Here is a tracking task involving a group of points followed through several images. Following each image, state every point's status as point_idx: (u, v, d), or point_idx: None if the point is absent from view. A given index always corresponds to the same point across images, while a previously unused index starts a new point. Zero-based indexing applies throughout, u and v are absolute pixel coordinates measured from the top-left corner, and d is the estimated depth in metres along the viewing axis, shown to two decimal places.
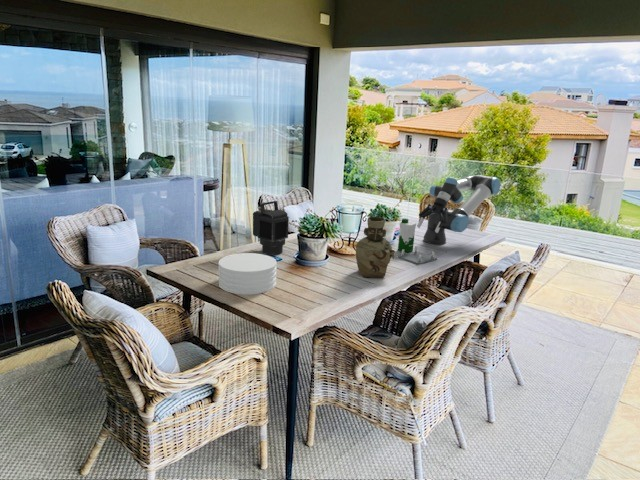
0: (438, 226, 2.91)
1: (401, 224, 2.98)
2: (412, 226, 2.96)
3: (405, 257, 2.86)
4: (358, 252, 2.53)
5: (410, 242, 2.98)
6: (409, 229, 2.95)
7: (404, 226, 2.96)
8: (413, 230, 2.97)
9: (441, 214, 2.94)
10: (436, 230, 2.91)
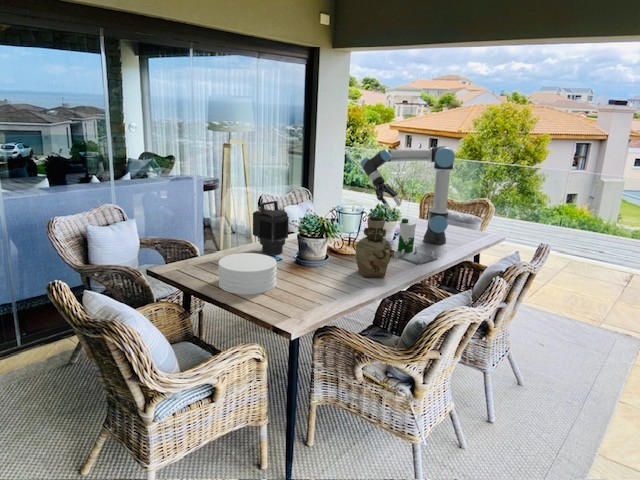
0: (384, 204, 2.99)
1: (401, 224, 2.98)
2: (412, 226, 2.96)
3: (405, 257, 2.86)
4: (358, 252, 2.53)
5: (410, 242, 2.98)
6: (409, 229, 2.95)
7: (404, 226, 2.96)
8: (413, 230, 2.97)
9: (380, 192, 3.03)
10: (386, 207, 2.99)
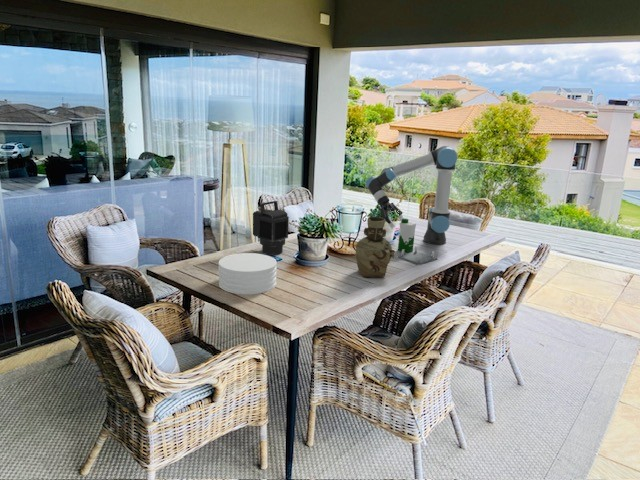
0: (389, 223, 2.99)
1: (401, 224, 2.98)
2: (412, 226, 2.96)
3: (405, 257, 2.86)
4: (358, 252, 2.53)
5: (410, 242, 2.98)
6: (409, 229, 2.95)
7: (404, 226, 2.96)
8: (413, 230, 2.97)
9: (385, 211, 3.02)
10: (391, 227, 2.98)
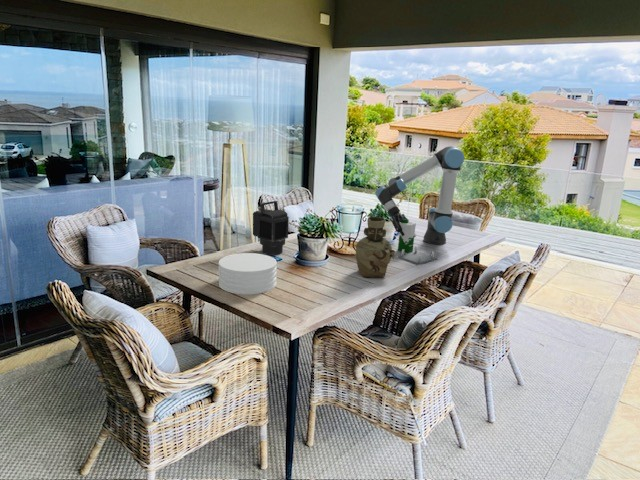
0: (402, 235, 2.97)
1: (401, 224, 2.98)
2: (412, 226, 2.96)
3: (405, 257, 2.86)
4: (358, 252, 2.53)
5: (410, 242, 2.98)
6: (409, 229, 2.95)
7: (404, 226, 2.96)
8: (413, 230, 2.97)
9: None
10: (405, 239, 2.97)
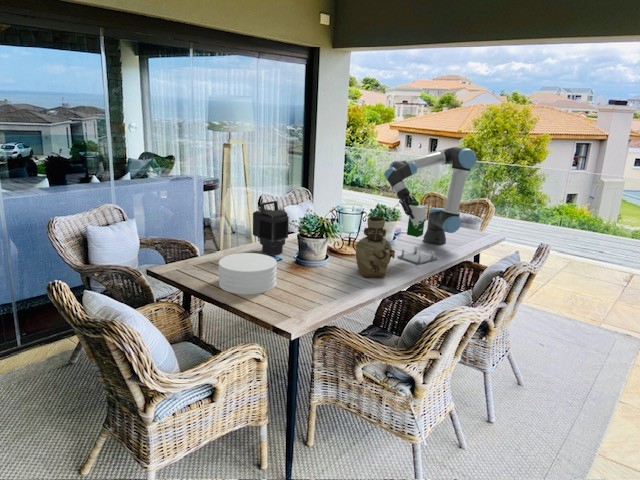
0: (412, 219, 2.81)
1: (411, 207, 2.81)
2: (422, 209, 2.79)
3: (405, 257, 2.86)
4: (358, 252, 2.53)
5: (420, 226, 2.82)
6: (419, 212, 2.79)
7: (414, 209, 2.80)
8: (423, 213, 2.81)
9: None
10: (415, 223, 2.80)
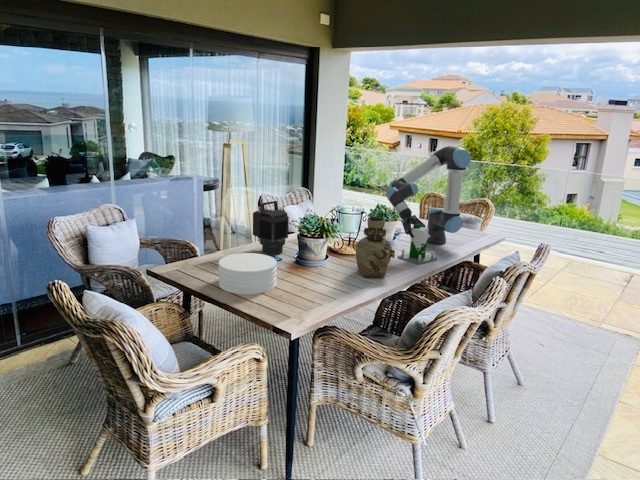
0: (412, 238, 2.80)
1: (413, 229, 2.82)
2: (425, 231, 2.80)
3: (405, 257, 2.86)
4: (358, 252, 2.53)
5: (422, 248, 2.82)
6: (421, 235, 2.80)
7: (416, 231, 2.81)
8: (426, 236, 2.82)
9: (407, 225, 2.84)
10: (415, 242, 2.79)
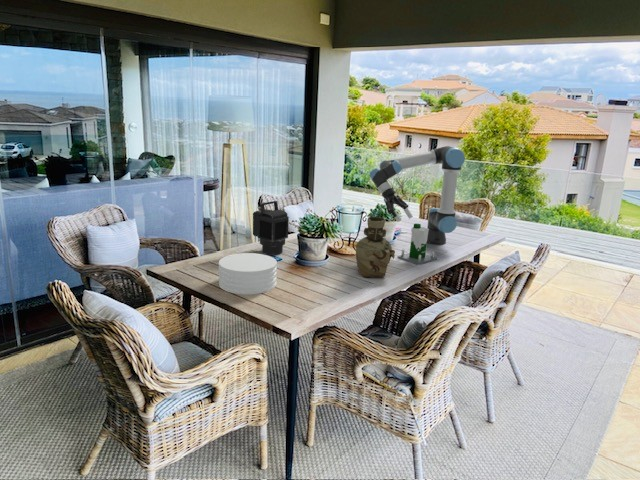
0: (394, 217, 2.86)
1: (413, 229, 2.82)
2: (425, 231, 2.80)
3: (405, 257, 2.86)
4: (358, 252, 2.53)
5: (422, 248, 2.82)
6: (422, 235, 2.80)
7: (416, 231, 2.81)
8: (426, 236, 2.82)
9: (390, 204, 2.89)
10: (397, 220, 2.85)
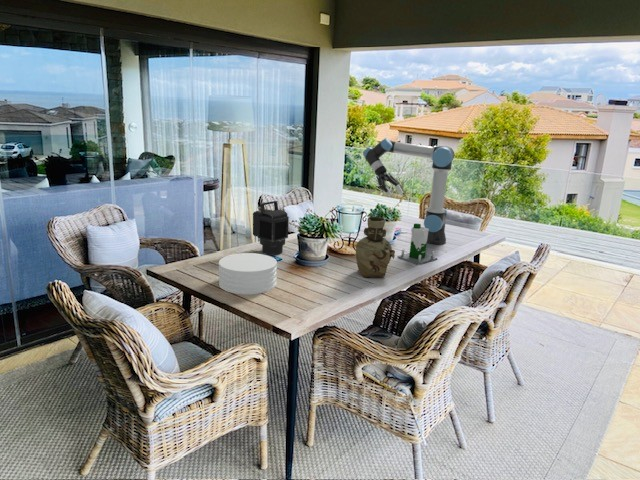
0: (386, 192, 3.06)
1: (413, 229, 2.82)
2: (425, 231, 2.80)
3: (405, 257, 2.86)
4: (358, 252, 2.53)
5: (422, 248, 2.82)
6: (422, 235, 2.80)
7: (416, 231, 2.81)
8: (426, 236, 2.82)
9: (382, 181, 3.09)
10: (388, 196, 3.05)
